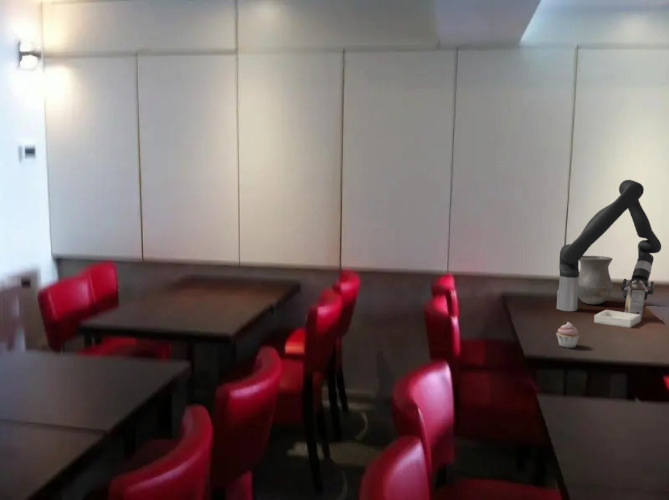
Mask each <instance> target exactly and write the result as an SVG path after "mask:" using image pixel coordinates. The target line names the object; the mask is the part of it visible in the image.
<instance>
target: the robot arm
mask: <svg viewBox="0 0 669 500" xmlns="http://www.w3.org/2000/svg"><path fill="white" fill-rule="evenodd" d="M618 191H619V194H620V195H619V196H618V198H616V199H615V200H614V201H613V202H611V203H610V204H608V205H606V206H604V207H603V208H601V209H600V210H599V211H597V212H596V213H595V214H594V215H593V216H592V217H591V219H590V220H589V221H588V222H587V223H586V225H585V227H584V228H583V230H582V231H581V233H580V234H579V236H578V237H577V238H576V239H575V240H573V242H572V243H569V244H565V245H563V246H562V247H561V249H560V252H559V264H558V265H559V269H558V270H559V284H558V290H557V293H556V297H557V298H556V310H560V311H563V312H576V311H578V301H579V300H578V299H579V297H578V285H579V272H580V270H579V263H580V259H581V257H582V256H585V255H584V254H585V253H586V252H587V251H588V250H589V248H590V247H591V246H592V245H593V244H594V243H595V242H596V241H598V240H599V239H600V238H601V237H602V236H603V235H604V234H605V233H606V232H607V231H608V230H609V229H610V228H611V227H612V225H613V224H614V223H615V222H617V220H618V219H619V218H621V216H622V215H623V214H624V213H625V212H626V211H627V210H628V212H629V214H630V217H631V220H632V222H633V226H634V229H635V231H636V235H637V236H638V238H642V240H640V241H639V242H638V244H637V252H638V253H637V255H638V256H637V261H636V264H635V266H634V269H633V271H632V276H631V277H630V278H631V279H629V280H628V279H627V278H624V279H623V280H622V284H621V287H620V289H621V290H620V291H621V292H623V293H622V296H623V298H624V299H625V300H626V296H627V287H628V282H634V283H642V284H643V286H644V288H645V297H644V302H646V300H647V299H648V298H649V295H653V294H654V290H655V289H654V288H655V282H654V281H651V282H649V280H650V276H651V274H652V266H653V263H654V261H655V260H654V255H652V254H658V253H659V252H660V251H661V250H662V244H661V241H660V239H659V238H658V236H657V235H656V234H655V232H654V231H653V229H652V226H651V222H650V220H649V218H648V216H647V214H646V212H645V210H644V209H643V207H642V205H641V202H640V198H641V197H642V196H643V194H644V185H643V184H641V183H640V182H638V181H636V180H632V179H625V180H623V181H622V182H621V183H620V185H619V187H618ZM648 286H649V289H648V288H647V287H648Z"/></svg>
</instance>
